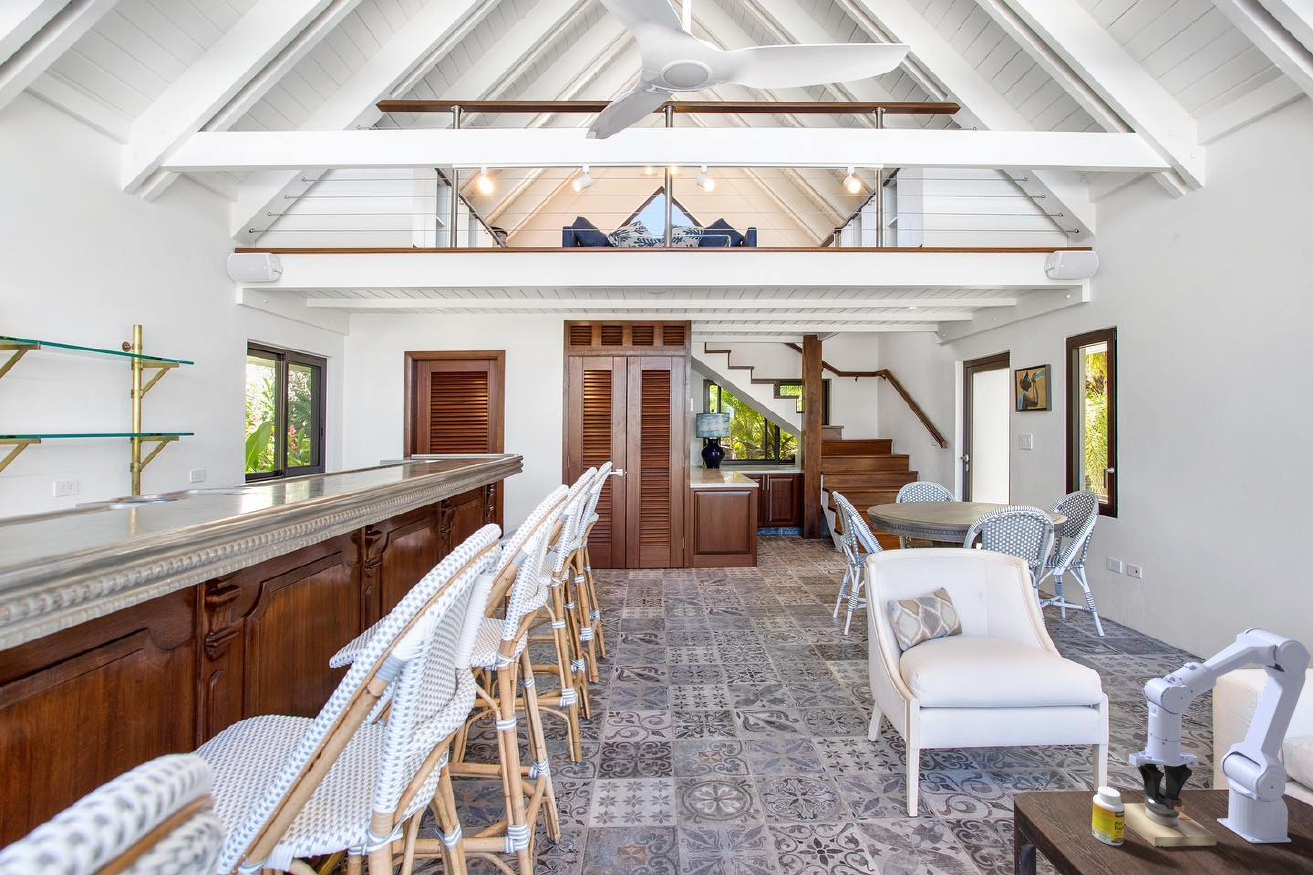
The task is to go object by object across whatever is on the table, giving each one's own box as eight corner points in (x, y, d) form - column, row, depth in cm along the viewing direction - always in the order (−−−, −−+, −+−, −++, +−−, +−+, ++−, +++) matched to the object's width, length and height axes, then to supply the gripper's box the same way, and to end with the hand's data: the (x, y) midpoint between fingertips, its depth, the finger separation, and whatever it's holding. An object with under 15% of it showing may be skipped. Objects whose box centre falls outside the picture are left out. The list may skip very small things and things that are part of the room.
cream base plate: (1167, 811, 148) (1167, 793, 147) (1216, 844, 136) (1217, 826, 136) (1109, 812, 146) (1110, 795, 146) (1154, 846, 135) (1155, 827, 134)
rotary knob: (1160, 799, 145) (1161, 781, 145) (1193, 821, 137) (1194, 802, 136) (1135, 799, 144) (1136, 782, 144) (1167, 822, 136) (1168, 803, 136)
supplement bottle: (1116, 850, 133) (1118, 801, 133) (1087, 835, 138) (1088, 788, 138) (1128, 841, 136) (1129, 793, 136) (1098, 827, 141) (1100, 781, 141)
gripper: (1178, 726, 145) (1176, 786, 145) (1118, 727, 144) (1116, 787, 144) (1207, 742, 138) (1205, 804, 138) (1144, 742, 137) (1142, 805, 137)
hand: (1162, 797), depth 141 cm, fingers open, 4 cm apart
